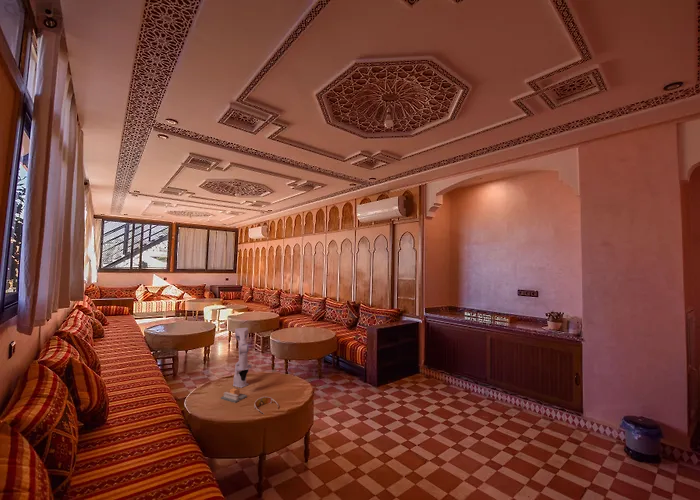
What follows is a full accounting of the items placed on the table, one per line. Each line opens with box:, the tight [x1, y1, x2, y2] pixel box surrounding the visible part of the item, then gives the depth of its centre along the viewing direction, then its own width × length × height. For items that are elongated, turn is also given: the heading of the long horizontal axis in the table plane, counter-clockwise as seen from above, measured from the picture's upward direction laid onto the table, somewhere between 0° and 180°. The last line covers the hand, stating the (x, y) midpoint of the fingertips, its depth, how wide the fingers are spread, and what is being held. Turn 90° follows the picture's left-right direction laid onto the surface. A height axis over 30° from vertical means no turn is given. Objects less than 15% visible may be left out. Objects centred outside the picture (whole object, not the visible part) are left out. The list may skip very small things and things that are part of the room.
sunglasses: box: [253, 396, 279, 415], centre depth 212 cm, size 14×15×5 cm
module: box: [229, 386, 241, 396], centre depth 228 cm, size 4×5×5 cm
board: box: [220, 391, 248, 404], centre depth 227 cm, size 14×11×4 cm
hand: (243, 380), depth 235 cm, fingers closed
